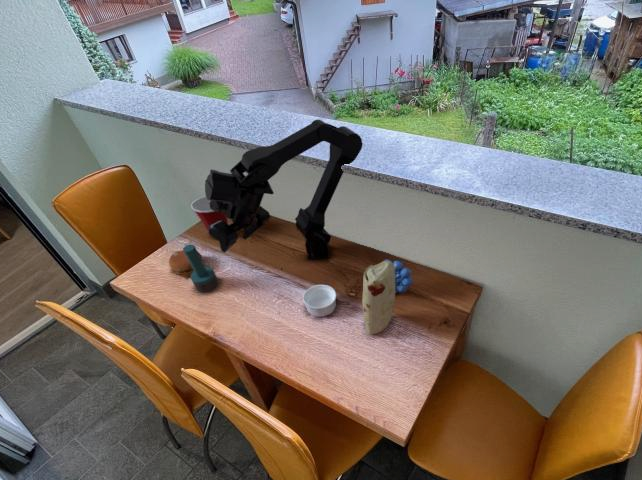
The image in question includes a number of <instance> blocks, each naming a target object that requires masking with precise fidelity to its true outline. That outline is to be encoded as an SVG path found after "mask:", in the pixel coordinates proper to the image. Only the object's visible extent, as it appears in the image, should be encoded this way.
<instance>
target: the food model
mask: <svg viewBox="0 0 642 480" xmlns="http://www.w3.org/2000/svg"><path fill="white" fill-rule="evenodd" d="M383 261H384V260H383ZM383 261H382V262H380V263H377V264H375V265H373V264H370V265H368V267H366V269H365V271H364V273H363V280H362V303H361V304H362V310H363V320H364V327H365V332H366V333H367V334H368V335H369V336H371V335H376V334H379V333H380V332H382V331H384V330H385V329H386V328H387V327H389V325H390V324H391V319H392V316H393V311H394V307H395V302H396V293H395V267H394V264H393V261H392V262H390V261H384V262H383Z"/></svg>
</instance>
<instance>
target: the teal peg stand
mask: <svg viewBox="0 0 642 480" xmlns="http://www.w3.org/2000/svg"><path fill="white" fill-rule="evenodd" d="M182 250H183V251H184V253H185V255H186V257H187V258H188V260H189V262H190V264H191V266H192V268H193V270H194V271H193V272H192V274H191V276H190V280H191V282H192V284H193V286H194V287H195V289H196V291H197V292H198V293H201V294H208V293H212V292H214V291H215V290H216V289H217V288H218V287H219V284H220V281H219V279H218V276H217V275H216V272H215V270H214V269H213V268H212V267H210V266H205V264H204V261H203V259H202V260H201V258H200V256H199V254H198V252H199V251H198V250H197V248H196V246H195V245H194V244H187V245H185V246H184V247H183V248H182ZM197 251H198V252H197ZM202 261H203V262H202Z"/></svg>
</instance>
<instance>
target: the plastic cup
mask: <svg viewBox="0 0 642 480" xmlns="http://www.w3.org/2000/svg"><path fill="white" fill-rule="evenodd" d="M210 201H211V200H208V199H207V198H206V196H202V197H199V198H197V199H195V200H193V201H192V203H190V207H191V208H190V209H192V210H193V211H194V213H195V214H196V215H197V217H198V218H199V219H200V221H201V223H202V224H203V226H204V227H205V229H206V230H207V231H208V230H209V226H210V225H212V224H214V223H216V222H218V221H224V222H225V223H226V224H228V225H229V223H228V218H227V217H226V213H223V212H221V211H220V212H216V211H214V210H212V209H211V208H210V204H209V203H210Z"/></svg>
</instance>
